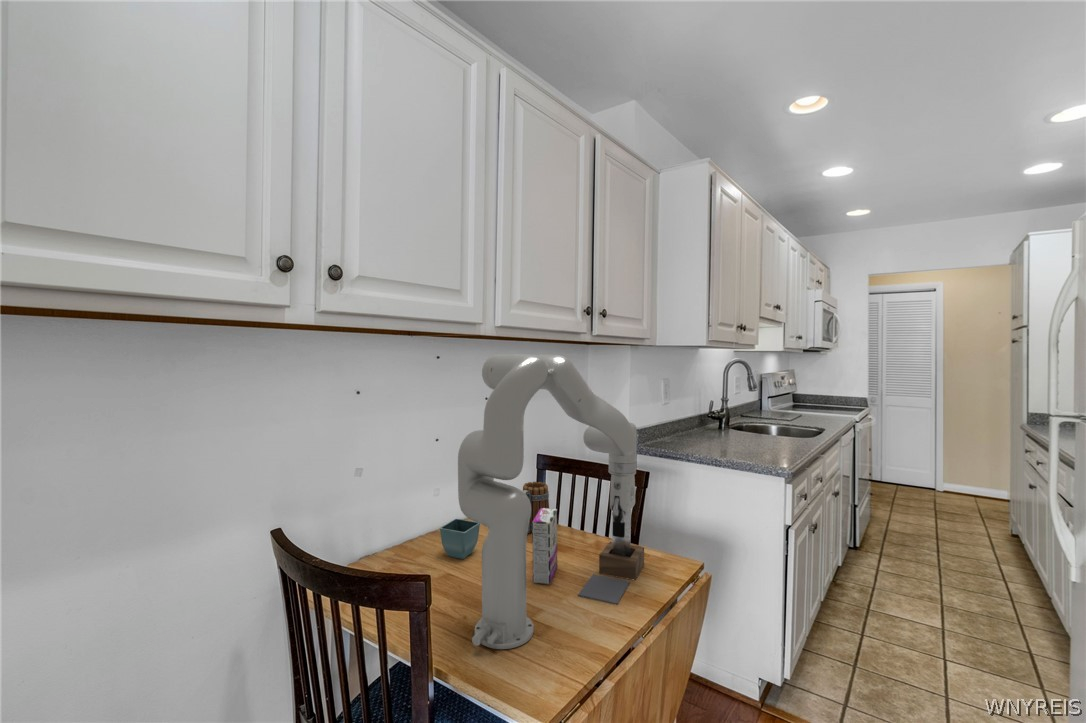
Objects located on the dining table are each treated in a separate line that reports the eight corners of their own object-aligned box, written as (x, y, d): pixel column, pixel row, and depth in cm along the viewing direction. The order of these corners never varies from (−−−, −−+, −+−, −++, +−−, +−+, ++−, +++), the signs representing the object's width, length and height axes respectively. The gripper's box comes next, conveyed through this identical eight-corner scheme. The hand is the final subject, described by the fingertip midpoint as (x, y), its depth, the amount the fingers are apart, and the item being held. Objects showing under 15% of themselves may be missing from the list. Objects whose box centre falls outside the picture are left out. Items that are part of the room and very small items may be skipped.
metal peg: (627, 560, 130) (628, 509, 130) (609, 557, 132) (610, 506, 132) (632, 553, 135) (633, 503, 134) (614, 550, 137) (615, 501, 136)
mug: (528, 521, 171) (528, 479, 171) (555, 526, 167) (556, 482, 166) (506, 536, 157) (506, 490, 157) (535, 542, 153) (535, 494, 152)
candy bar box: (540, 564, 136) (540, 507, 136) (557, 566, 135) (557, 508, 135) (531, 583, 125) (531, 521, 125) (550, 585, 124) (550, 522, 124)
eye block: (635, 580, 127) (635, 561, 127) (599, 573, 131) (599, 554, 131) (644, 565, 136) (644, 547, 136) (609, 558, 140) (609, 541, 140)
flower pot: (464, 563, 137) (464, 532, 137) (439, 558, 140) (438, 527, 140) (480, 551, 145) (480, 522, 145) (455, 547, 149) (455, 518, 148)
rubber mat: (617, 604, 115) (617, 603, 115) (577, 596, 119) (577, 594, 119) (629, 582, 126) (629, 581, 126) (593, 575, 130) (593, 573, 130)
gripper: (627, 475, 124) (626, 546, 124) (642, 462, 139) (641, 525, 139) (599, 472, 127) (598, 541, 127) (617, 460, 142) (616, 521, 143)
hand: (621, 532), depth 133 cm, fingers closed on metal peg, 5 cm apart
